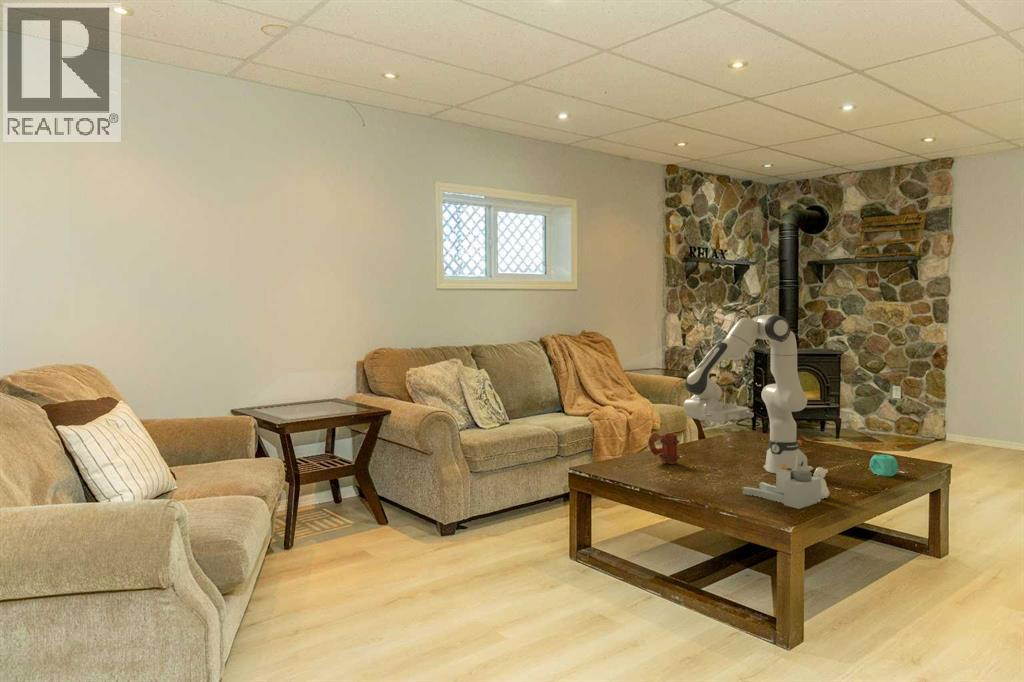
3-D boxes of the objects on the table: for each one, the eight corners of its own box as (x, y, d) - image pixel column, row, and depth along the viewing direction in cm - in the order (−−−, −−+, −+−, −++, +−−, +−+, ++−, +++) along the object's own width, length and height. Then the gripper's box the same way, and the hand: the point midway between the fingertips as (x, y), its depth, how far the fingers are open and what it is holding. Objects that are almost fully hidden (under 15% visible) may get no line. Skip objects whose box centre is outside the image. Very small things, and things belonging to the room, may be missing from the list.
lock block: (783, 496, 266) (783, 461, 265) (797, 500, 261) (798, 464, 261) (775, 498, 263) (776, 463, 263) (790, 502, 258) (790, 466, 258)
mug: (678, 461, 325) (678, 430, 325) (681, 465, 317) (681, 434, 317) (647, 461, 327) (647, 430, 326) (649, 465, 319) (649, 433, 318)
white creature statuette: (816, 492, 272) (817, 462, 271) (836, 497, 264) (836, 467, 263) (800, 495, 267) (801, 465, 266) (820, 501, 259) (820, 470, 259)
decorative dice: (885, 477, 294) (885, 459, 293) (869, 473, 301) (869, 455, 301) (898, 475, 297) (898, 457, 296) (882, 471, 304) (882, 453, 304)
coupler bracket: (762, 487, 279) (763, 458, 278) (820, 501, 259) (821, 470, 258) (740, 493, 270) (741, 464, 270) (798, 508, 250) (799, 476, 250)
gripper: (701, 407, 280) (730, 411, 269) (732, 402, 292) (760, 406, 281) (701, 422, 281) (729, 426, 270) (731, 416, 293) (760, 421, 282)
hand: (745, 416), depth 276 cm, fingers open, 8 cm apart
